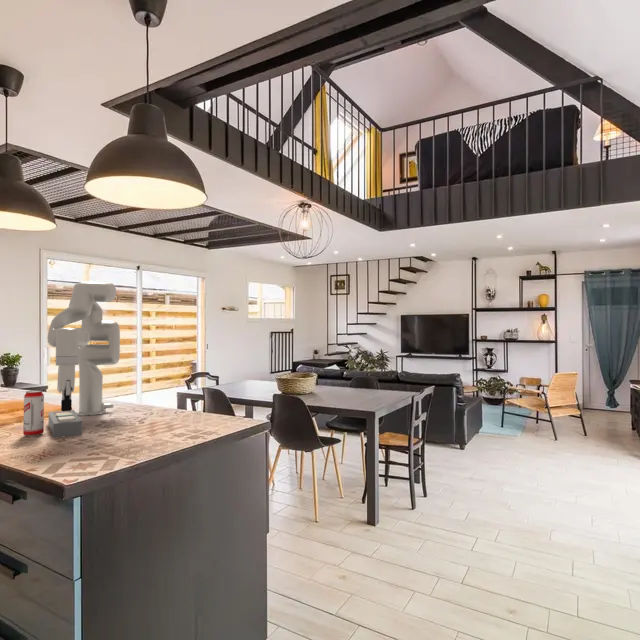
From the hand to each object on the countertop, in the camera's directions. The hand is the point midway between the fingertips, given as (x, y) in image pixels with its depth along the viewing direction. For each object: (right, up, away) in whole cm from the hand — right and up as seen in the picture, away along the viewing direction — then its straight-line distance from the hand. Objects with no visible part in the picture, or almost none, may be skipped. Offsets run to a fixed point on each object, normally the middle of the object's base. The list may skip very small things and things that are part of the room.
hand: (66, 410), depth 167 cm
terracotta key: (-9, -7, +14) cm, 18 cm away
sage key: (-5, -5, +7) cm, 10 cm away
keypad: (-5, -9, +7) cm, 12 cm away
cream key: (0, -5, 0) cm, 5 cm away
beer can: (-11, -9, -2) cm, 14 cm away
